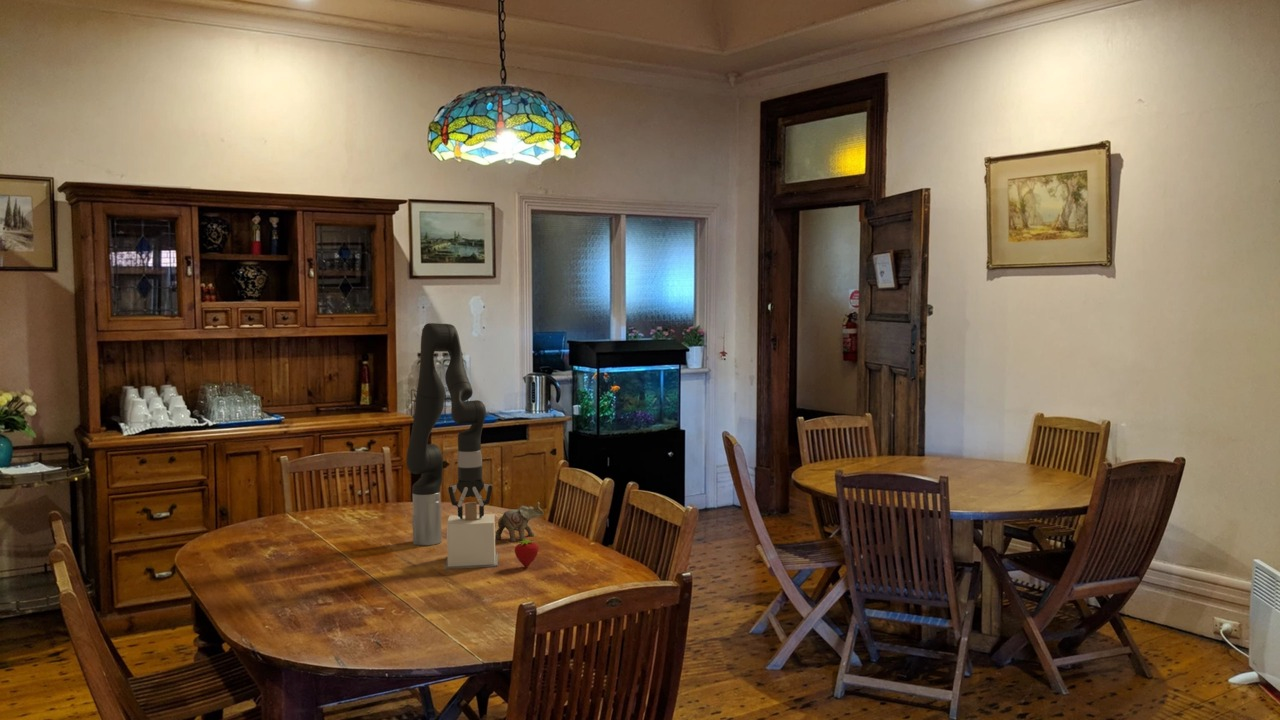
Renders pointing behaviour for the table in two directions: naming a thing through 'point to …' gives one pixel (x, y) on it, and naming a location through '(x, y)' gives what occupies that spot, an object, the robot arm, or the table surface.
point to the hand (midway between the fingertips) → (471, 517)
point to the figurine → (518, 521)
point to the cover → (471, 538)
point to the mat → (473, 565)
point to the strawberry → (526, 551)
